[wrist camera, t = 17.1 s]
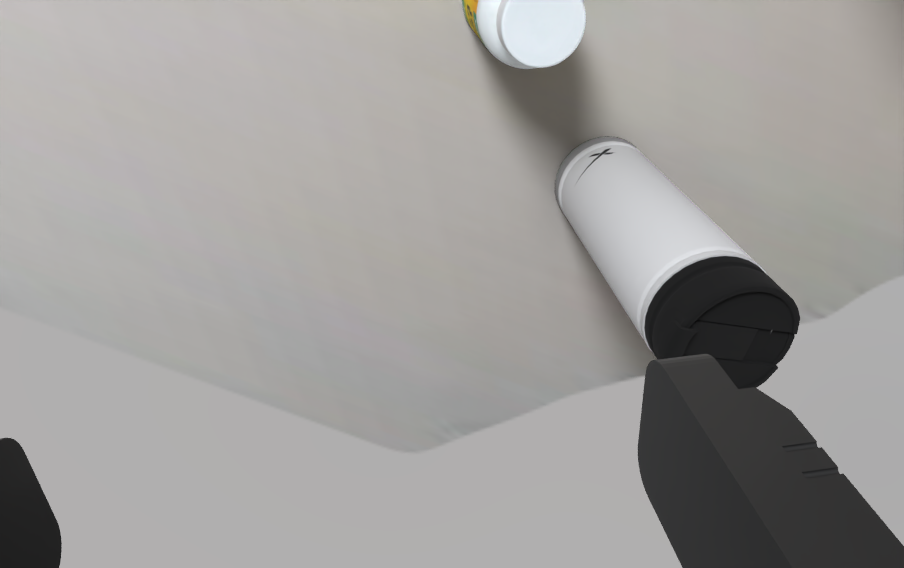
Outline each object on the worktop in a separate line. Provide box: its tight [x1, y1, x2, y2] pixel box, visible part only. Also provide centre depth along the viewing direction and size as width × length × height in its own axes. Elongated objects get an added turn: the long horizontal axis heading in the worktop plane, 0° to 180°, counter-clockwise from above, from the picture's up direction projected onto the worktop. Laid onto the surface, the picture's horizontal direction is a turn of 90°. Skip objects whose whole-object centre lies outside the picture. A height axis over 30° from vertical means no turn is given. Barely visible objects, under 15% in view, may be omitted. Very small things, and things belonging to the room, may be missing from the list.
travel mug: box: [555, 136, 800, 389], centre depth 39 cm, size 6×7×20 cm
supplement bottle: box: [462, 0, 586, 69], centre depth 37 cm, size 5×5×10 cm
